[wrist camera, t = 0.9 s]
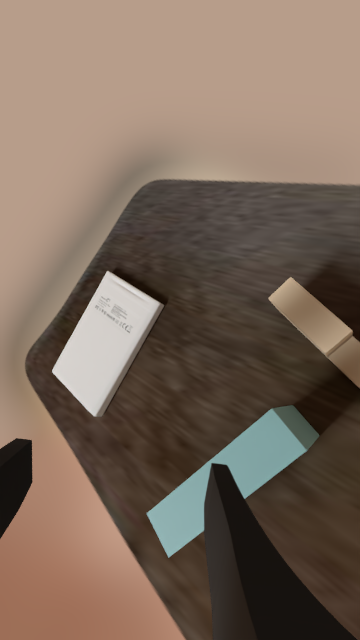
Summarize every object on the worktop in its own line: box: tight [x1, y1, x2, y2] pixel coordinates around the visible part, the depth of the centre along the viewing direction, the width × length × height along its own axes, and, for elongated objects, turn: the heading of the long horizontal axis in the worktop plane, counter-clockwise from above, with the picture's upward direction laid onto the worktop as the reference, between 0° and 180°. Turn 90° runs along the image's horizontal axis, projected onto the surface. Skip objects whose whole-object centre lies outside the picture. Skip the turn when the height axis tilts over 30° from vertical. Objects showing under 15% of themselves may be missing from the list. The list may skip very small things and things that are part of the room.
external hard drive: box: [52, 271, 164, 417], centre depth 31 cm, size 2×8×12 cm
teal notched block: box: [147, 405, 320, 557], centre depth 20 cm, size 2×10×6 cm, turn 129°
